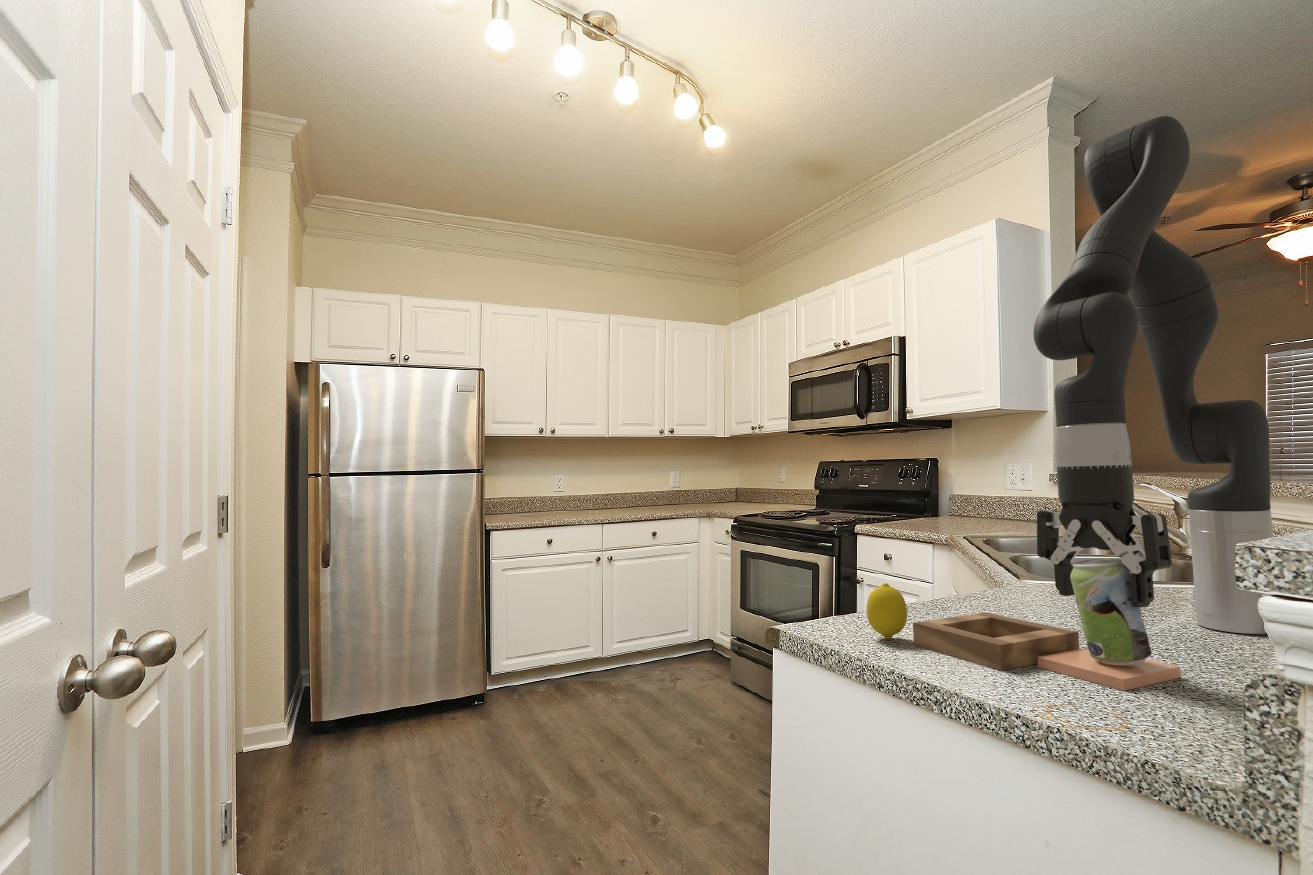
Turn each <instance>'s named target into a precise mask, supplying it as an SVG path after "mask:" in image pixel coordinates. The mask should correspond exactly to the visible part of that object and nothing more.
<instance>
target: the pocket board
mask: <svg viewBox="0 0 1313 875" xmlns="http://www.w3.org/2000/svg"><path fill="white" fill-rule="evenodd" d="M912 629H913V631H912V633H913V645H914V646H918V647H921V648H924V649H927V650H931V651H934V652H938V653H941V654H944V655H947V656H952V657H955V658H958V659H961V660H965V661H968V662H971V663H975V664H978V665H982V666H985V667H988V668H991V669H995V670H999V671H1001V672H1002V671H1006V670H1011V669H1017V668H1022V667H1028V666H1033V665H1038V657H1040V656H1046V655H1051V654H1056V653H1062V652H1067V651H1072V650H1078V649H1080V641H1079V638H1080V637H1079V631H1077V630H1071V629H1067V628H1061V627H1057V626H1053V625H1047V624H1043V623H1038V622H1034V621H1029V620H1024V619H1020V618H1019V619H1018V618H1014V617H1009V616H1007V615H1006V616H1004V615H1002V614H1001V615H999V614H996V613H989V612H977V613H972V614H965V615H958V616H957V615H956V616H950V617H945V618H943V617H942V618H936V619H930V620H922V621H915V622H912Z"/></svg>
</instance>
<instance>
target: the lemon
mask: <svg viewBox="0 0 1313 875" xmlns="http://www.w3.org/2000/svg"><path fill="white" fill-rule="evenodd" d="M868 595H869V596H868V598H867V602H866V618H867V621H868V623H869V625H870V626H871V628H872V629H873V630H874V631H875V632H877V633H878V634H879V635H880V634H881V635H882V637H883V638H884V639H886V640H890V639H891V638H892V637H893V636H895V635H897V634H900V633H901V631H902V630H904V628H905V626H906V624H907V620H908V608H907V604H906V601H905V600H906V599H905V598H904V596H903V594H901V592H900V591H899V590H898V589H896V588H895V587H893V586H891V585H890V584H889V583H887V582H885V583H882V584H881V585H880V586H878V587H876V588H874V589H873V590H872V591H871V592H870V593H869V594H868Z"/></svg>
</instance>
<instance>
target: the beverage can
mask: <svg viewBox="0 0 1313 875" xmlns="http://www.w3.org/2000/svg"><path fill="white" fill-rule="evenodd" d="M1072 565H1073V570H1072V572H1071V575H1070V578H1071V582H1072V586H1073V590H1074V594H1075V595H1074V597H1075V601H1076V606H1077V611H1078V614H1079V617H1080V621H1081V626H1082V629H1083V633H1084V637H1085V642H1086V646H1087V648H1088V650H1089V654H1090V656H1091V657H1093V658H1095V659H1098V660H1099V662H1101V663H1103V664H1107V665H1116V666H1125V665H1135V664H1139V663H1142V662H1144V661H1145V660H1146V659H1147V658H1149V657H1150V656H1151V655H1152V654H1153V653H1152V648H1151V645H1150V640H1149V637H1148V633H1147V629H1146V626H1145V622H1144V619H1143V615H1142V610H1141V608H1139V607H1133V606H1132V604H1131V594H1130V580H1129V574H1131V573H1132V571H1131V570H1130V569H1129V568H1128V566H1127V565H1126V564H1125V563H1124V564H1123V561H1122V559H1121V558H1119V557H1117V558H1115V557H1105V558H1104V557H1103V558H1093V559H1092V558H1091V559H1085V560H1079V561H1076V562H1073V564H1072Z"/></svg>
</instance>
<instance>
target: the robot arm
mask: <svg viewBox="0 0 1313 875" xmlns="http://www.w3.org/2000/svg"><path fill="white" fill-rule="evenodd" d="M1190 150H1191V146H1190V142H1189V138H1188V135H1187V132H1186V130H1185V128H1184V127H1183V125H1182V124H1181V122H1180V121H1179V120H1178V119H1176V118H1175V117H1173V116H1169V115H1161V116H1157V117H1153V118H1150V119H1148V120H1145V121H1142V122H1140V123H1138V124H1136V125H1133V126H1131V127H1129V128H1126V129H1124V130H1121V131H1119V132H1117V133H1114V134H1112V135H1110V136H1108V137H1106V138H1102V139H1100V140H1099V141H1097V142H1095V143H1093V144H1091V145H1090V146H1088V148H1087V150H1086V152H1085V153H1084V158H1083V159H1084V160H1083V168H1084V170H1083V171H1084V175H1085V179H1086V183H1087V186H1088V190H1089V191H1090V192H1089V193H1090V194H1091V197H1092V199H1093V201H1094V202H1093V203H1094V204H1095V206H1096V209H1097V211H1098V213H1099V216H1100V217H1099V218H1098V219H1097V220H1096V221H1095V223H1093V225H1092V226H1091V227H1090V228H1089V230H1088V231H1087V232H1086V234H1085V235H1084V236H1083V238H1082V239H1081V240H1080V241H1081V242H1080V244H1079V245H1078V247H1077V250H1076V252H1075V256H1074V259H1073V262H1072V264H1071V267H1070V270H1069V272H1068V274H1067V276H1066V277H1065V278H1064V279H1063V280H1062V281H1061V282H1060V283H1059V285H1057V287H1056V288H1055V290H1054V291H1053V292H1052V294H1050V296H1049V297H1048V298H1047V300H1045V302H1044V304H1043V305H1042V306H1041V308H1040V310H1039V312H1038V314H1037V315H1036V318H1035V322H1034V325H1033V341H1034V343H1035V344H1034V345H1035V346H1036V348H1037V351H1039V352H1040V354H1041V355H1042V356H1044V357H1045V358H1046V359H1050V360H1053V361H1067V360H1073V359H1074V360H1075V359H1078V358H1080V359H1081V358H1085V357H1091V356H1093V357H1092V359H1091V362H1090V363H1089V366H1088V368H1087V369H1086V370H1084V371H1083V372H1081V373H1078V374H1076V375H1073V376H1071V377H1068V378H1065V379H1062V380H1061V381H1059V382H1058V383H1057V384H1056V386H1055V388H1054V405H1055V406H1054V408H1055V410H1054V411H1055V424H1056V436H1055V459H1056V463H1055V464H1056V475H1057V476H1056V477H1057V479H1056V480H1057V492H1058V500H1059V502H1060V503H1061V510H1060V511H1057V510H1055V509H1052V510H1050V509H1047V510H1046V509H1045V510H1039V511H1037V513H1036V553H1037V556H1038V557H1039V558H1040V559H1044V558H1045V559H1047V561H1050V562H1051V563H1052V564H1053V566H1054V568H1053V570H1054V581H1055V583H1054V584H1055V588H1056V590H1057V591H1058V594H1059V595H1060V596H1064V597H1070V596H1075V594H1074V590H1073V586H1072V582H1071V578H1070V575H1071V572H1072V570H1073V564H1072V562H1073V561H1074V560H1075V558H1076V557H1077V555H1078V554H1079V553H1080V552H1082V551H1083V550H1084V549H1091V548H1092V549H1094V548H1095V549H1097V550H1100V551H1110V550H1111V551H1112V553H1113V554H1114V555H1115V556H1116V557H1117V558H1118V559H1121V561H1122V562H1124V565H1125V566H1126V567H1127V568H1128V569H1129V570H1130V572H1131V574H1129V580H1130V594H1131V604H1132V606H1133V607H1139V608H1140V609H1141V608H1148V607H1149V606H1151V605H1150V604H1151V603H1153V602H1154V599H1155V592H1154V579H1153V577H1154V576H1153V574H1154V573H1155V572H1156V571H1160V570H1165V569H1170V568H1171V567H1172V566H1173V561H1172V553H1171V546H1170V544H1171V543H1170V538H1169V531H1168V530H1169V529H1168V524H1167V517H1166V516H1165V515H1164V514H1162V513H1151V514H1148V513H1147V514H1142V515H1137V514H1136V512H1135V510H1134V508H1133V507H1134V506H1133V504H1134V501H1135V491H1134V490H1135V489H1134V478H1133V476H1134V475H1133V463H1132V446H1131V439H1130V436H1129V432H1128V426H1127V415H1126V401H1125V400H1126V399H1125V398H1126V397H1125V387H1126V382H1127V375H1128V370H1129V366H1130V362H1131V357H1132V354H1133V350H1134V347H1135V343H1136V339H1137V334H1138V329H1139V331H1140V332H1139V333H1140V335H1141V336H1142V339H1143V342H1144V345H1145V349H1146V351H1147V354H1148V357H1149V361H1150V363H1151V366H1152V370H1153V372H1154V378H1155V381H1156V384H1157V385H1156V386H1157V389H1158V394H1159V398H1160V402H1161V403H1160V404H1161V409H1162V413H1163V418H1164V422H1165V427H1166V432H1167V436H1168V439H1169V443H1170V445H1171V448H1172V450H1173V452H1174V454H1175V455H1176V457H1177V458H1178V459H1179V460H1180V461H1181V462H1183V463H1186V464H1191V465H1207V464H1208V465H1215V464H1219V465H1220V464H1230V468H1229V472H1228V473H1227V475H1225V476H1224V477H1223V478H1221V479H1219V480H1217V481H1215V482H1213V483H1210V484H1208V485H1205V486H1201V487H1197V488H1194V489H1191V490H1190V491H1189V492H1188V494H1187V508H1188V519H1189V520H1188V522H1189V532H1190V545H1191V547H1190V548H1191V559H1192V560H1191V562H1192V570H1193V571H1192V574H1193V575H1192V576H1193V586H1194V599H1195V600H1194V601H1195V614H1196V616H1195V617H1196V623H1197V625H1199V626H1201V627H1204V628H1207V629H1211V630H1217V631H1221V632H1228V633H1237V634H1247V635H1248V634H1249V635H1267V634H1266V632H1265V630H1264V622H1263V619H1262V618H1261V616H1260V614H1259V612H1258V609H1257V602H1258V599H1259V598H1260V597H1262V594H1260V593H1256V592H1250V591H1246V590H1240V589H1238V588H1237V587H1236V583H1235V545H1236V544H1237V543H1241V542H1248V541H1257V540H1262V539H1266V538H1270V537H1273V538H1274V533H1273V522H1272V520H1273V519H1272V510H1271V506H1272V505H1271V488H1272V487H1271V484H1272V483H1271V470H1270V467H1271V466H1270V465H1271V463H1270V448H1271V447H1270V443H1271V442H1270V426H1269V420H1268V416H1267V414H1266V411H1265V409H1264V407H1263V406H1262V405H1261V404H1260V403H1259V402H1257V401H1255V400H1253V399H1237V400H1227V401H1216V402H1215V401H1214V402H1204V403H1199V402H1198V400H1197V398H1196V393H1195V387H1194V386H1195V385H1194V379H1195V374H1196V370H1197V368H1198V365H1199V363H1200V360H1201V358H1202V356H1203V354H1204V352H1205V350H1206V348H1207V346H1208V345H1209V343H1210V340H1211V338H1212V336H1213V335H1214V332H1215V329H1216V327H1217V325H1218V322H1219V321H1218V320H1219V308H1218V304H1217V301H1216V297H1215V295H1214V292H1213V288H1212V284H1211V281H1210V277H1209V274H1208V272H1207V270H1206V268H1204V267H1203V265H1202V264H1201V263H1199V261H1197V260H1196V259H1195V258H1194V257H1192V256H1191V255H1189V254H1188V253H1186V251H1184V250H1182V249H1181V248H1179V247H1178V246H1176V245H1175V244H1173V243H1172V242H1170V240H1169V241H1168V240H1167V239H1165V237H1163V236H1162V235H1160V234H1159V233H1157V231H1156V230H1154V227H1155V226H1156V224H1157V223H1158V221H1159V219H1160V217H1162V216H1161V215H1162V214H1163V212H1164V211H1165V209H1166V208H1167V206H1168V204H1169V203H1170V200H1172V197H1173V196H1174V194H1175V193H1176V190H1177V189H1178V187H1179V185H1180V184H1181V182H1182V181H1183V178H1184V176H1185V174H1186V172H1187V169H1188V165H1189V162H1190V156H1191V155H1190V153H1191V151H1190ZM1127 295H1128V297H1127ZM1061 525H1062V527H1063V528H1064V530H1066V531H1064V534H1062V536H1061V538H1060V536H1059V534H1060V527H1061ZM1136 528H1137V530H1138V531H1139V533H1140V534H1142V539H1143V545H1141V543H1140V541H1138V540H1137V538H1136V537H1135V536H1134V535H1133V534H1132V533H1133V531H1134V530H1136Z"/></svg>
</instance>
